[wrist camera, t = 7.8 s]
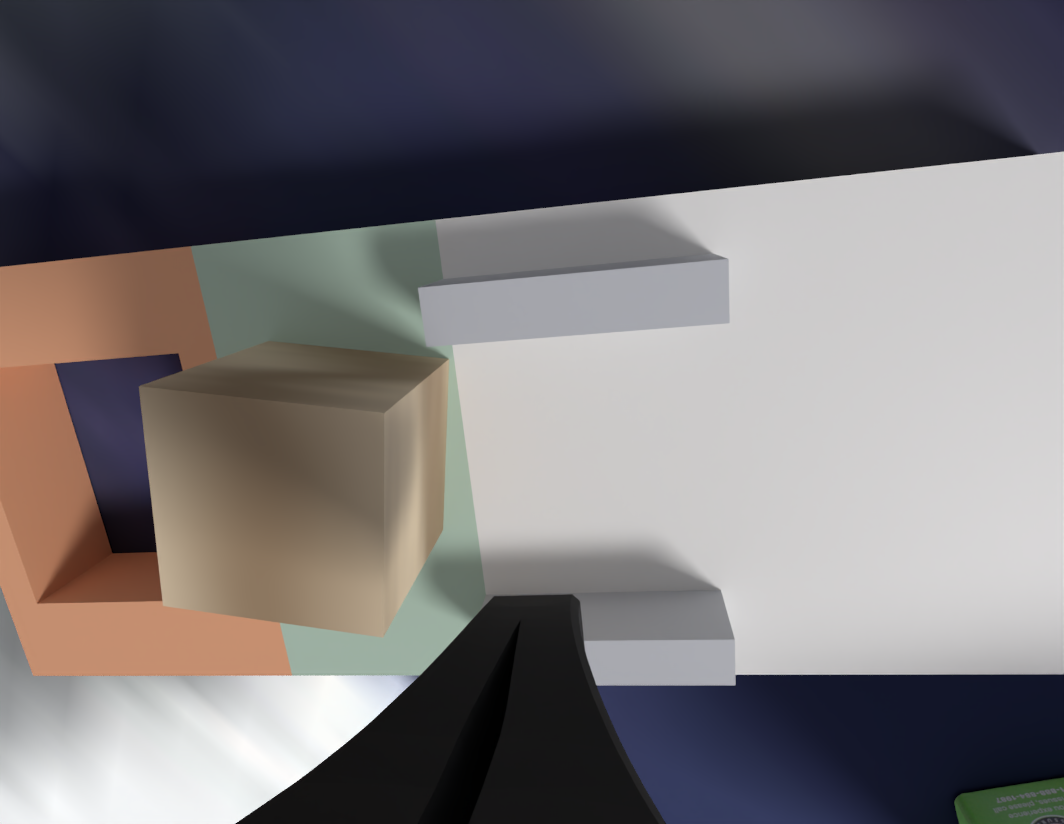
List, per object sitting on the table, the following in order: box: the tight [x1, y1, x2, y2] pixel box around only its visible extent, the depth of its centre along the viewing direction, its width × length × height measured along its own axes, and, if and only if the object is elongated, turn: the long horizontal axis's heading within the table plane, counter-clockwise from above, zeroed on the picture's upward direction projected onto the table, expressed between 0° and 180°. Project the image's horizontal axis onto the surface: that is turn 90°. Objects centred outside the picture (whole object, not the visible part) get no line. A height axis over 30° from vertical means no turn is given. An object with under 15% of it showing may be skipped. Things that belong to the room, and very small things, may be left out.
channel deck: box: [0, 152, 1064, 685], centre depth 17 cm, size 28×12×5 cm, turn 96°
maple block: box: [139, 341, 449, 638], centre depth 14 cm, size 4×4×4 cm
